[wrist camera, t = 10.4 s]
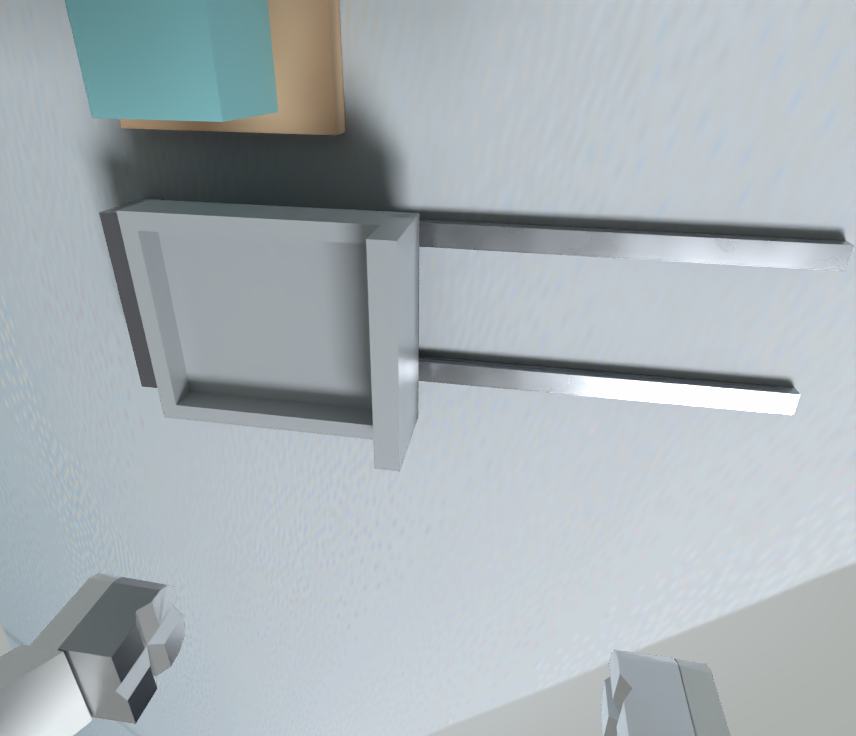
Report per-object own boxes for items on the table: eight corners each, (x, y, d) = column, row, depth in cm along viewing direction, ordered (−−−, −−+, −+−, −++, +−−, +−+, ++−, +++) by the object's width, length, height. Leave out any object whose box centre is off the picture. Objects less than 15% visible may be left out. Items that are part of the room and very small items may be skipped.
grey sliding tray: (427, 203, 23) (397, 241, 18) (424, 397, 27) (399, 471, 22) (172, 191, 25) (80, 222, 20) (207, 376, 29) (138, 441, 24)
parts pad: (336, -52, 20) (325, -58, 19) (345, 132, 23) (336, 134, 22) (104, -48, 22) (82, -54, 21) (139, 125, 24) (121, 128, 23)
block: (264, -31, 20) (198, -54, 16) (278, 112, 22) (222, 121, 18) (145, -29, 21) (52, -52, 17) (169, 109, 23) (92, 118, 19)
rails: (849, 233, 22) (892, 255, 19) (786, 413, 26) (814, 453, 23) (143, 197, 26) (99, 212, 23) (176, 358, 30) (142, 386, 27)
